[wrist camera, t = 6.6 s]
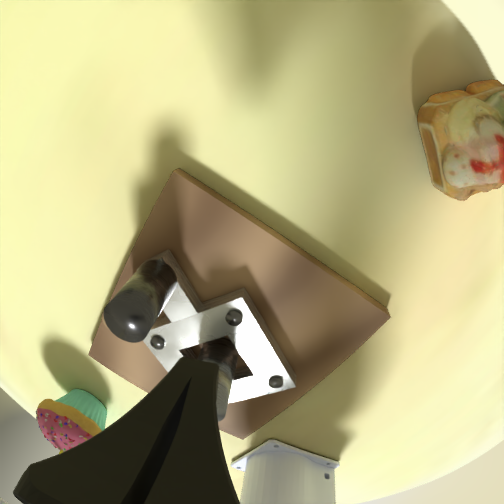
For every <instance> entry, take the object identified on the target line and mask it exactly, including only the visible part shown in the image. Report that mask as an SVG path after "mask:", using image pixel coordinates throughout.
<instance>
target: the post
mask: <svg viewBox="0 0 504 504" xmlns="http://www.w3.org/2000/svg"><path fill="white" fill-rule="evenodd" d="M238 356H239V352H238V350H237V349H236V347H235V346H234V344H233V343H232V341H231V340H230V339H229V338H227V337H221V338H217V339H214V340H211V341H208V342H204V343H203V345H202V348H201V351H200V354H199V356H198V359H197V360H201V361H205V362H210V363H216V364H217V365H218V366H219V379H218V391H217V400H216V406H217V418H218V422H219V421H221V420H223V419H224V418H225V415H226V411H227V406H228V402H229V397H230V393H231V388H232V384H233V379H234V375H235V370H236V366H237V361H238Z"/></svg>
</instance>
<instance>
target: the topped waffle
mask: <svg viewBox="0 0 504 504" xmlns="http://www.w3.org/2000/svg"><path fill="white" fill-rule="evenodd" d="M417 121H418V127H419V131H420V135H421V139H422V143H423V147H424V151H425V154H426V158H427V163H428V168H429V173H430V176H431V181H432V184H433V186H434V187H435V188H437V189H438V190H440V191H441V192H443V193H444V194H446V195H447V196H449V197H452V198H455V199H457V200H460V201H465V200H467V199H468V198H469V197H470V196H471V195H474V194H476V193H479V192H488V191H490V190H492V189H498V188H500V187H501V186H502V185H504V85H503V84H501V83H500V82H499V81H498V80H485V81H478V82H474V83H471V84H469V85H468V86H467V88H466V91H462V90H455V91H448V92H442V93H437V94H434V95H432V96H430V97H429V99H428V101H427V102H426V103H425V104H424V105H422V106H421V108H420V109H419V112H418V116H417Z"/></svg>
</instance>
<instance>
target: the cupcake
mask: <svg viewBox="0 0 504 504" xmlns="http://www.w3.org/2000/svg"><path fill="white" fill-rule="evenodd" d="M36 414H37V417H36V418H37V419H36V420H38V423H39V427H40V429H41V431H42V433H43V434H44V436H45V438H47V440H48V441H50V442H51V443H52V444H53V445H54V446H55V448H58V449H59V450H60V452H59V454H60V453H63V452H65V451H67V450H69V449H71V448H73V447H75V446H77V445H79V444H81V443H83V442H85V441H87V440H88V439H90V438H92V437H93V436H95V435H96V434H98V433H100V432H101V431H103V430H104V429H105V422H106V416H107V411H106V408H105V407H104V405H103V404H102V403H101V402H100V401H99V400H98V399H97V398H96V397H94V396H93V395H91V394H90V393H88V392H86V391H84V390H80V389H73V390H72V391H70V392H69V393H68V394H66V395H65V396H63V397H61V398H60V399H58V400H56V401H53V400H52V399H45V400H43V401H42V402H41V403H40V404H39V406H38V408H37V410H36Z"/></svg>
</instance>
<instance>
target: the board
mask: <svg viewBox="0 0 504 504" xmlns="http://www.w3.org/2000/svg"><path fill="white" fill-rule="evenodd" d="M168 249H169V250H170V251H171V253H172V255H173V256H174V258H175V260H176V261H177V263H178V264H179V266H180V268H181V269H182V271H183V273H184V274H185V276H186V277H187V279H188V281H189V282H190V284H191V285H192V287H193V289H194V290H195V292H196V293H197V295H198V297H199V298H200V300H201V301H202V303H203V302H206V301H209V300H211V299H214V298H217V297H219V296H222V295H225V294H227V293H230V292H232V291H235V290H238V289H240V288H243V287H245V288H246V290H247V292H248V294H249V295H250V297H251V299H252V300H253V302H254V304H255V306H256V307H257V309H258V311H259V313H260V314H261V316H262V318H263V320H264V321H265V323H266V325H267V326H268V328H269V330H270V332H271V333H272V335H273V337H274V338H275V340H276V342H277V343H278V345H279V347H280V349H281V350H282V352H283V354H284V355H285V357H286V359H287V360H288V362H289V364H290V365H291V367H292V369H293V371H294V372H295V374H296V387H294V388H290V389H286V390H283V391H279V392H275V393H271V394H267V395H263V396H259V397H254V398H250V399H245V400H241V401H236V402H231V403H228V406H227V411H226V415H225V418H224V419H223V420H221V421H219V422H218V426H219V430H222V431H224V432H226V433H228V434H231V435H233V436H235V437H238V438H240V439H244V438H246V437H247V436H249V435H250V434H252V433H253V432H255V431H256V430H257V429H259V428H260V427H262V426H263V425H265V424H266V423H267V422H269V421H270V420H271V419H273V418H274V417H276V416H277V415H278V414H280V413H281V412H282V411H284V410H285V409H286V408H288V407H289V406H290V405H292V404H293V403H294V402H295V401H297V400H298V399H299V398H301V397H302V396H303V395H304V394H306V393H307V392H308V391H309V390H311V389H312V388H313V387H314V386H315V385H317V384H318V383H319V382H320V381H321V380H323V379H324V378H325V377H326V376H327V375H329V374H330V373H331V372H332V371H333V370H334V369H336V368H337V367H338V366H339V365H340V364H341V363H342V362H344V361H345V360H346V359H347V358H348V357H349V356H350V355H351V354H353V353H354V352H355V351H356V350H357V349H358V348H359V347H360V346H361V345H362V344H363V343H365V342H366V341H367V340H368V339H369V338H370V337H371V336H372V335H373V334H374V333H375V332H376V331H377V330H378V329H379V328H380V327H381V326H382V325H383V324H384V323H385V322H386V321H387V320H388V319H389V318H390V314H389V312H388V310H387V308H386V307H384V306H383V305H381V304H380V303H379V302H377V301H376V300H374V299H373V298H372V297H370V296H369V295H367V294H366V293H364V292H363V291H362V290H360V289H359V288H357V287H356V286H355V285H353V284H352V283H350V282H349V281H347V280H346V279H345V278H343V277H342V276H340V275H339V274H337V273H336V272H335V271H333V270H332V269H330V268H329V267H327V266H326V265H324V264H323V263H322V262H320V261H319V260H317V259H316V258H314V257H313V256H311V255H310V254H308V253H307V252H306V251H304V250H303V249H301V248H300V247H298V246H297V245H295V244H294V243H292V242H291V241H289V240H288V239H286V238H285V237H283V236H282V235H280V234H279V233H277V232H276V231H275V230H273V229H272V228H270V227H269V226H267V225H266V224H264V223H263V222H261V221H260V220H258V219H257V218H255V217H254V216H252V215H251V214H249V213H247V212H246V211H244V210H243V209H241V208H240V207H238V206H237V205H235V204H234V203H232V202H231V201H229V200H228V199H226V198H225V197H223V196H222V195H220V194H219V193H217V192H215V191H214V190H212V189H211V188H209V187H208V186H206V185H205V184H203V183H201V182H200V181H198V180H197V179H195V178H194V177H192V176H191V175H189V174H187V173H186V172H184V171H183V170H181V169H180V168H178V169H176V170H174V171H173V172H172V174H171V176H170V178H169V179H168V181H167V183H166V185H165V187H164V188H163V190H162V192H161V194H160V196H159V198H158V200H157V202H156V203H155V205H154V207H153V209H152V211H151V213H150V215H149V217H148V219H147V221H146V223H145V225H144V227H143V229H142V231H141V233H140V235H139V237H138V239H137V241H136V243H135V245H134V247H133V249H132V252H131V254H130V256H129V258H128V260H127V262H126V264H125V267H124V269H123V271H122V273H121V275H120V278H119V280H118V282H117V284H116V287H115V289H114V291H113V294H112V296H111V298H110V301H111V300H112V298H113V297H114V296H115V295H116V294H117V293H118V292H119V290H120V289H121V288H122V287H123V286H124V285H125V284H126V282H127V281H128V280H129V279H130V278H131V277H132V276H133V275H134V273H135V272H136V271H137V269H138V268H139V267H140V265H141V264H142V263H143V262H144V261H146V260H148V259H150V258H152V257H154V256H156V255H158V254H160V253H162V252H164V251H166V250H168ZM110 301H109V302H110ZM165 316H167V315H166V314H165V312H164V311H163V310H162V311H161V313H160V315H159V316H158V318H157V319H160V318H162V317H165ZM224 337H227V338H229V337H228V335H227V336H224ZM229 339H230V338H229ZM202 345H203V343H201V344H198V345H194V346H191V347H190V349H191V350H192V351H193V353H194V354H195V355H196V357H197V358H198V356H199V354H200V351H201V348H202ZM88 355H89V356H90V357H92V358H93V359H95V360H96V361H98V362H99V363H101V364H102V365H104V366H105V367H107V368H108V369H110V370H111V371H113V372H114V373H116V374H118V375H119V376H121V377H122V378H124V379H126V380H127V381H129V382H130V383H132V384H134V385H135V386H137V387H139V388H141V389H142V390H144V391H146V392H147V393H149V392H150V391H151V390H152V389H153V388H154V387H155V386H156V385H157V384H158V383H159V382H160V381H161V380H162V379H163V378H164V377H165V376H166V374H167V373H168V372H167V370H166V369H165V368H164V367H163V366H162V364H161V363H160V362H159V361H158V359H157V358H156V357H155V356H154V354H153V353H152V352H151V351H150V349H149V348H148V347H147V345H146V344H145V343H144V342H143V341H141V342H137V343H131V342H127V341H124V340H122V339H120V338H118V337H117V336H115V335H114V334H113V333H112V332H111V331H110V330H109V329H108V328H107V327H106V326H105V325H104V323H103V321H102V320H101V323H100V325H99V328H98V330H97V333H96V335H95V338H94V341H93V343H92V346H91V349H90V351H89V354H88ZM247 366H248V365H247V363H246V362H245V360H244V359H243V357H242V356H241V354H240V353H239V356H238V361H237V366H236V369H239V368H243V367H247Z"/></svg>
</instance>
